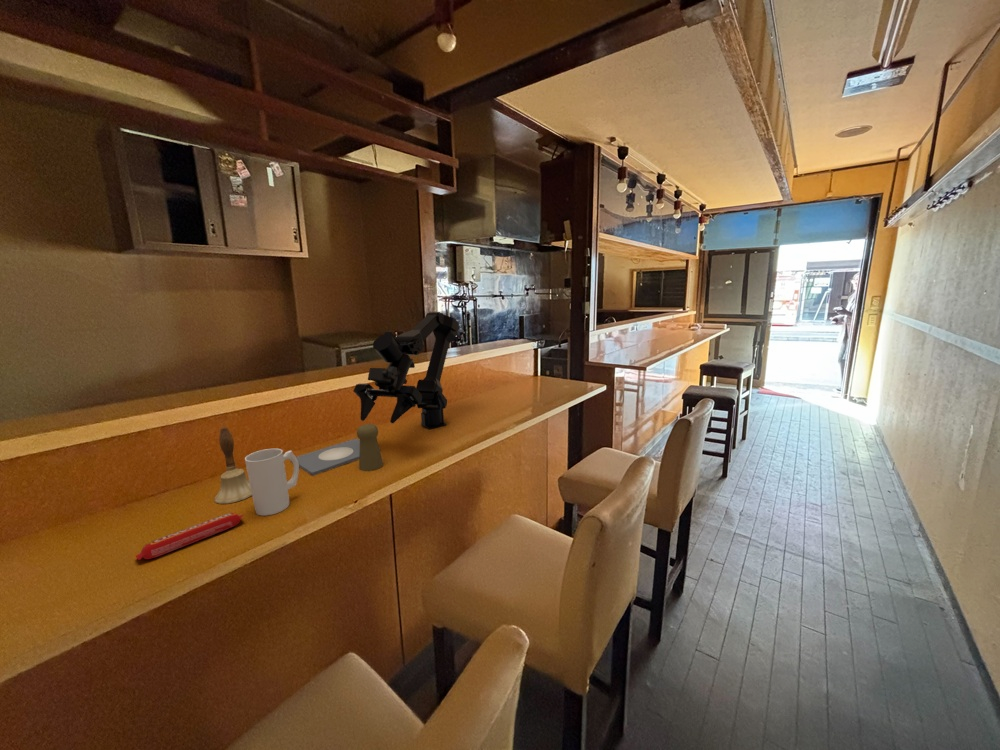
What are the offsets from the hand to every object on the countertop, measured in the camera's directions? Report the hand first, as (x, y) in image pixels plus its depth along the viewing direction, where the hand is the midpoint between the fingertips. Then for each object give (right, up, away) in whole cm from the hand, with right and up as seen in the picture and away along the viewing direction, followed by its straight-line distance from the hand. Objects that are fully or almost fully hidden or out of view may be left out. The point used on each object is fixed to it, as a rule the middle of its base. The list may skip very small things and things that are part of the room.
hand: (376, 421), depth 105 cm
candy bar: (-24, -19, -31) cm, 43 cm away
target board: (-13, -10, +6) cm, 17 cm away
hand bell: (-27, -15, -14) cm, 34 cm away
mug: (-15, -16, -19) cm, 29 cm away
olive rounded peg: (-1, -12, -1) cm, 12 cm away
